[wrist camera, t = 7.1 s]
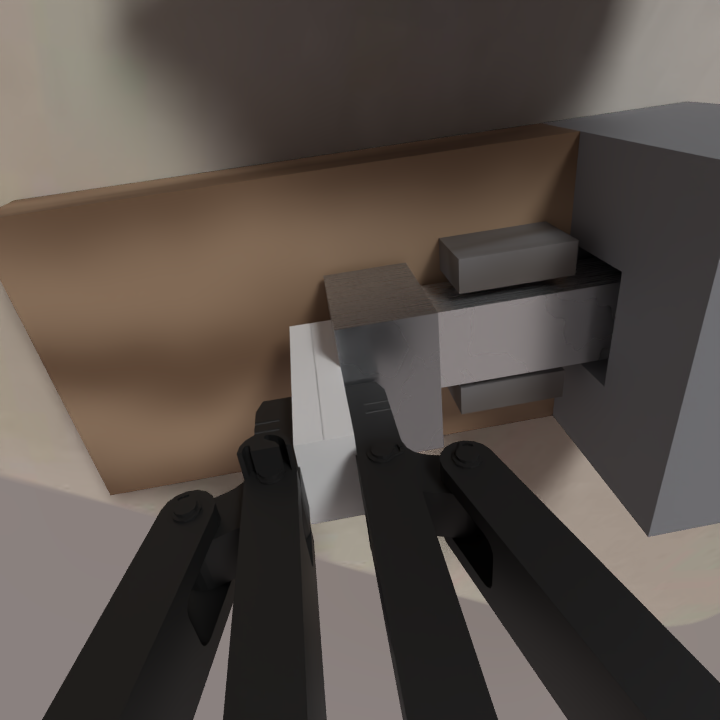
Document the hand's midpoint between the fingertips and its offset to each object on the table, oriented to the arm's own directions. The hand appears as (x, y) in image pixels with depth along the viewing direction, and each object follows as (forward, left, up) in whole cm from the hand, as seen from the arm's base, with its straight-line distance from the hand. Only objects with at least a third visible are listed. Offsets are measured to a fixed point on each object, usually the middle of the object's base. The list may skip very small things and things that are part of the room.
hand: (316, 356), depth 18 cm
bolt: (0, +7, -1) cm, 7 cm away
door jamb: (0, +13, -5) cm, 14 cm away
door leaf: (0, 0, -5) cm, 4 cm away
